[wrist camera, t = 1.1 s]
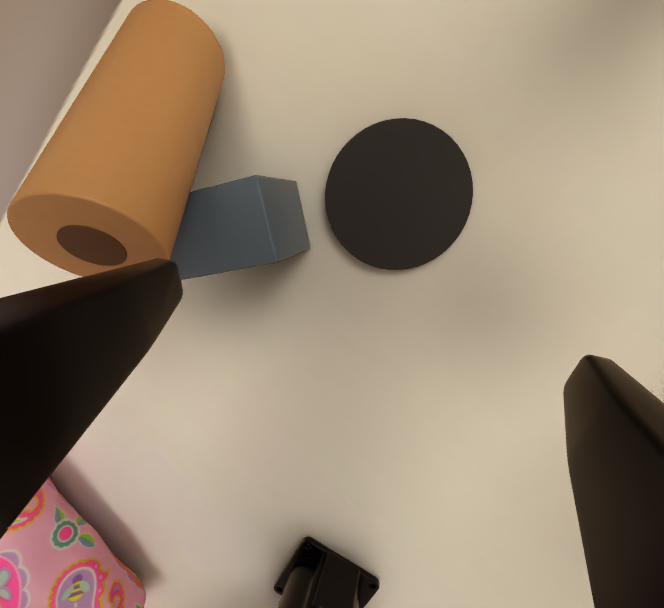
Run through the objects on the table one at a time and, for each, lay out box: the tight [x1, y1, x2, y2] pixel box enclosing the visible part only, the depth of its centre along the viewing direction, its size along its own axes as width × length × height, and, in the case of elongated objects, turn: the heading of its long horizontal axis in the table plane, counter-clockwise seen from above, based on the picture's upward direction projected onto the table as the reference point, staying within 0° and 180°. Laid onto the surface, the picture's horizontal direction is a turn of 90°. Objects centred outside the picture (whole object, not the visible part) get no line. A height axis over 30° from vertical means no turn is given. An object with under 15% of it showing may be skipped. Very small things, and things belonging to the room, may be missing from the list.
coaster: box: [325, 118, 473, 270], centre depth 21 cm, size 8×8×1 cm
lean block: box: [170, 175, 310, 280], centre depth 21 cm, size 4×9×6 cm, turn 102°
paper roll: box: [7, 0, 225, 277], centre depth 17 cm, size 13×5×13 cm, turn 12°
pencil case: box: [0, 477, 146, 608], centre depth 30 cm, size 21×9×9 cm, turn 36°
